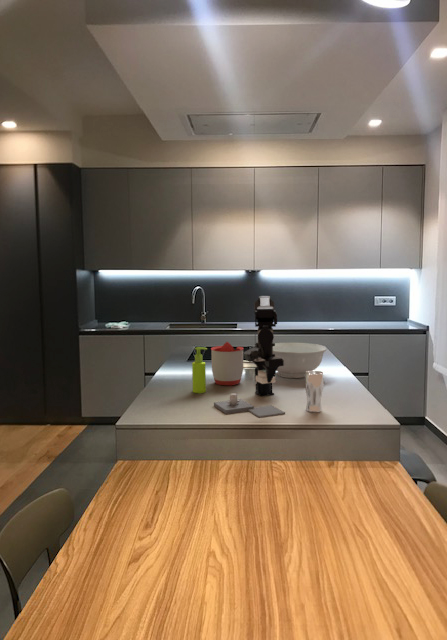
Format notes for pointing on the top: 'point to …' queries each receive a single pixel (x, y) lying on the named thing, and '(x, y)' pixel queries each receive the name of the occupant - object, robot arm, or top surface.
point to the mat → (266, 411)
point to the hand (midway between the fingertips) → (265, 380)
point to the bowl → (298, 358)
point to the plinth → (233, 405)
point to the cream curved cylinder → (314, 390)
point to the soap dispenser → (199, 373)
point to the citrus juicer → (227, 364)
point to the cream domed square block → (263, 377)
